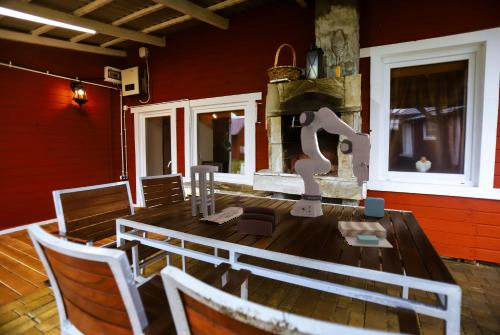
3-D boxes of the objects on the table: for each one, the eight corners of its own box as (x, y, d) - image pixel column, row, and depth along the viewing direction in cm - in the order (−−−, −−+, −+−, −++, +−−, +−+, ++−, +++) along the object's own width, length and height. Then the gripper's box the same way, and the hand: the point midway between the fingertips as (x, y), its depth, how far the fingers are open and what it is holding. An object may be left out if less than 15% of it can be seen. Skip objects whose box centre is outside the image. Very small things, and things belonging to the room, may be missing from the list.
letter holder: (243, 228, 160) (243, 205, 159) (276, 231, 154) (275, 207, 152) (237, 234, 150) (237, 209, 149) (272, 237, 144) (271, 212, 143)
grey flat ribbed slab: (228, 209, 206) (228, 206, 206) (250, 212, 197) (250, 208, 197) (197, 222, 174) (197, 218, 174) (222, 226, 165) (222, 222, 165)
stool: (187, 217, 185) (185, 166, 182) (200, 211, 199) (199, 164, 196) (206, 219, 179) (205, 167, 175) (218, 213, 193) (217, 165, 189)
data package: (383, 215, 182) (384, 198, 181) (383, 217, 178) (384, 199, 177) (364, 213, 187) (365, 196, 186) (364, 215, 183) (364, 198, 182)
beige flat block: (342, 236, 144) (342, 229, 144) (338, 227, 158) (338, 221, 158) (386, 238, 140) (386, 230, 140) (378, 229, 154) (378, 222, 154)
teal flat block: (356, 235, 139) (356, 238, 139) (359, 239, 133) (359, 243, 133) (375, 235, 137) (375, 239, 138) (379, 240, 131) (378, 244, 132)
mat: (349, 245, 131) (349, 244, 131) (344, 237, 143) (344, 236, 143) (392, 247, 128) (392, 246, 128) (384, 238, 140) (384, 238, 140)
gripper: (371, 163, 140) (370, 189, 141) (362, 160, 160) (361, 183, 161) (358, 163, 141) (357, 189, 142) (351, 160, 161) (350, 182, 162)
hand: (359, 186), depth 152 cm, fingers closed
